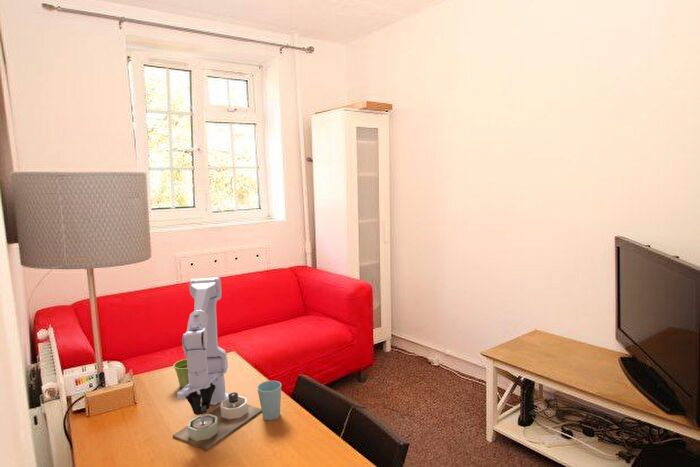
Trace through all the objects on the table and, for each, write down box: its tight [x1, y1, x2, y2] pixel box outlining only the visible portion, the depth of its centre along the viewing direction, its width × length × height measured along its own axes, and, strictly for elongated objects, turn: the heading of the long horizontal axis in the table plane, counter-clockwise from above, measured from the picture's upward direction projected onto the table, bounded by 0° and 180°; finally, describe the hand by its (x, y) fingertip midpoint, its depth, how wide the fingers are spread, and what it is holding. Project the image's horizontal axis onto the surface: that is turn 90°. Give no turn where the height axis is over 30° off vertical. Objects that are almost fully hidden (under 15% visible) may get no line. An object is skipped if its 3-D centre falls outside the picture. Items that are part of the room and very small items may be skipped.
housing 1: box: [187, 413, 218, 441], centre depth 135 cm, size 8×8×3 cm
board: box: [172, 404, 262, 452], centre depth 141 cm, size 15×24×1 cm, turn 149°
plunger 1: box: [193, 402, 213, 429], centre depth 135 cm, size 6×6×6 cm
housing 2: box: [220, 395, 248, 419], centre depth 146 cm, size 8×8×3 cm
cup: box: [257, 380, 282, 421], centre depth 144 cm, size 8×8×10 cm
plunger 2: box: [228, 391, 239, 408], centre depth 146 cm, size 6×6×6 cm
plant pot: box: [172, 358, 189, 389], centre depth 169 cm, size 9×9×9 cm
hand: (201, 411), depth 135 cm, fingers closed on plunger 1, 3 cm apart
